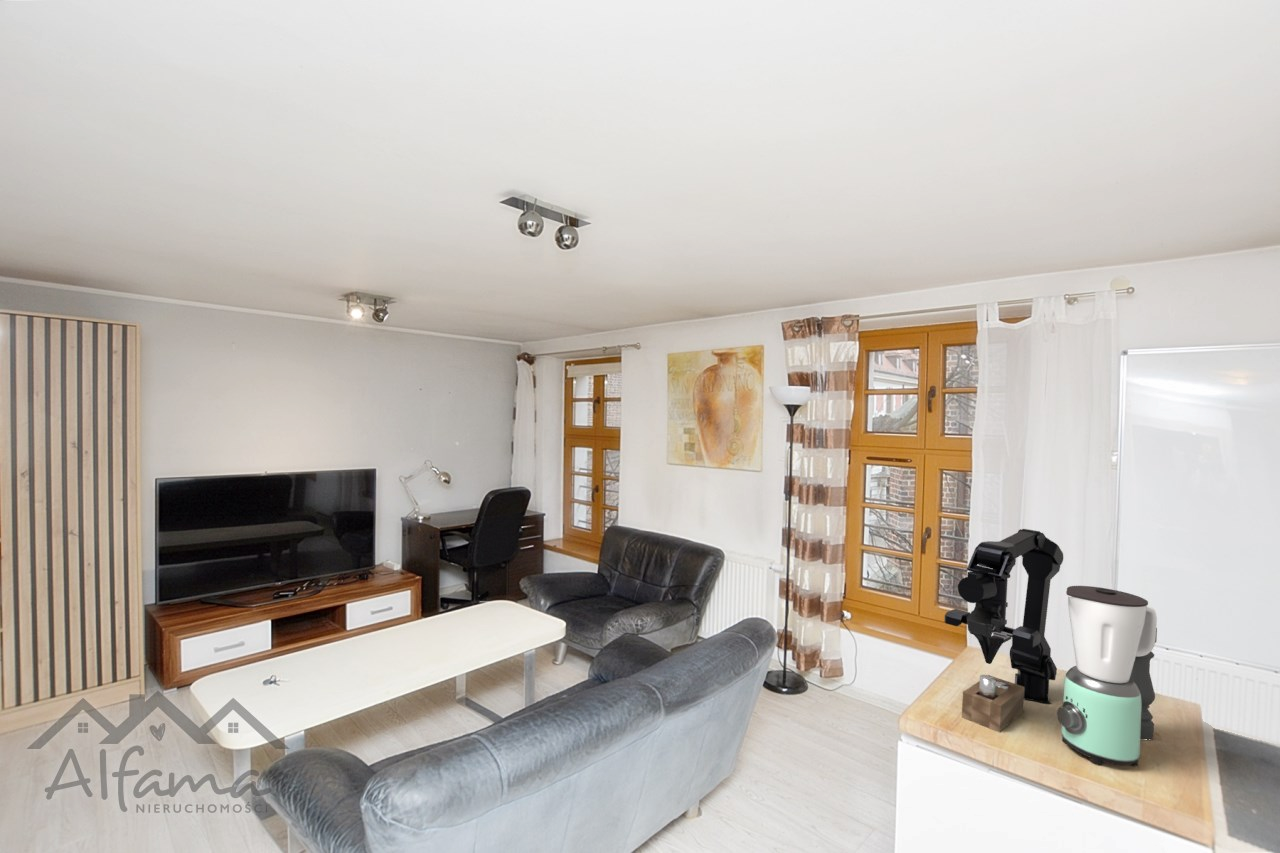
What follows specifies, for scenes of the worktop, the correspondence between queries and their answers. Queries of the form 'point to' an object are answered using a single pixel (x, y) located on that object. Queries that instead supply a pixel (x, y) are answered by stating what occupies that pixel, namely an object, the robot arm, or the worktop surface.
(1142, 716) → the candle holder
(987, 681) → the front peg
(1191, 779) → the worktop surface
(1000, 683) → the back peg
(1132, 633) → the mint green blender
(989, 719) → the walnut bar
